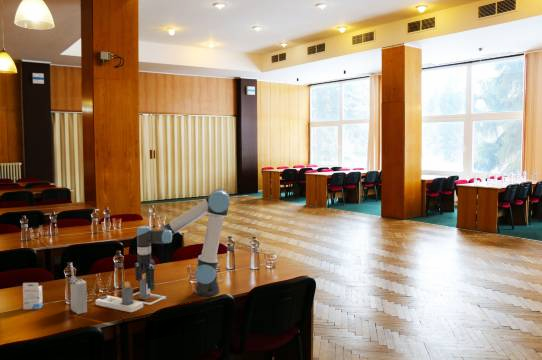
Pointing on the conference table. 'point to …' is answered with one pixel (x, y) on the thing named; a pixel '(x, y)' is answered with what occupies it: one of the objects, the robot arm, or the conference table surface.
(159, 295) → the tray
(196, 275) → the robot arm
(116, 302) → the strip
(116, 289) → the conference table surface
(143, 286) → the grey bottle
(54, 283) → the conference table surface
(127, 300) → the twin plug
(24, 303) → the ink box
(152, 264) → the coffee jar
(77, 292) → the jerry can
